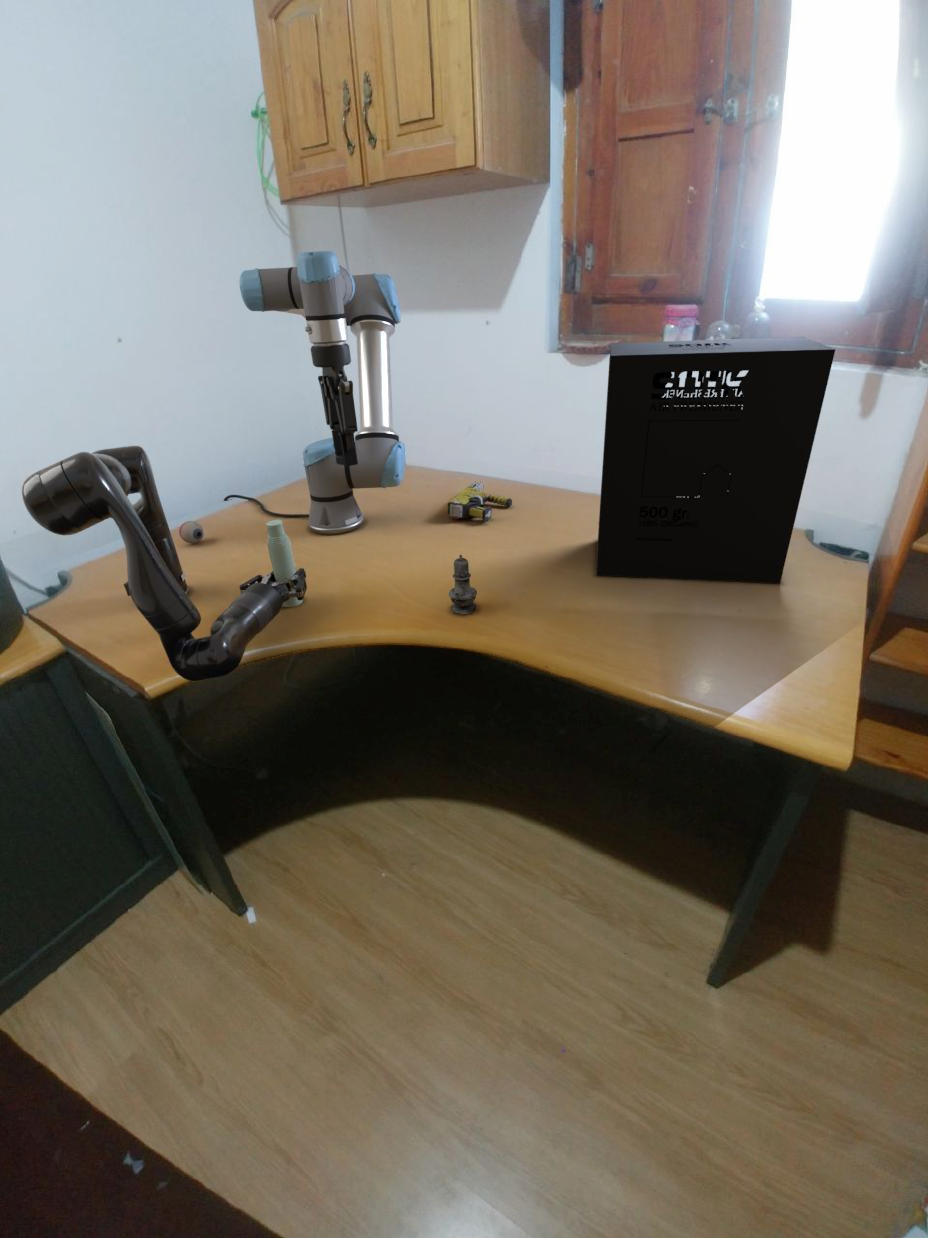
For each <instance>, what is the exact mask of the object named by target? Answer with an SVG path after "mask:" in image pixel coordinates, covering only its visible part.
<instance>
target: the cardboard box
mask: <svg viewBox="0 0 928 1238" xmlns="http://www.w3.org/2000/svg"><path fill="white" fill-rule="evenodd" d="M835 354H836V349H835V348H833V347H830V346H829V345H826V344H823V343H821V342H818V341H815V340H813V339H811V338H808V337H805V336H793V337H791V336H790V337H762V338H761V337H757V338H729V339H727V338H726V339H700V340H699V339H698V340H696V339H695V340H671V341H670V340H669V341H668V340H667V341H665V340H664V341H639V342H638V341H637V342H611V343H610V346H609V357H608V358H609V361H608V376H607V388H606V389H607V390H606V395H607V396H606V404H605V405H606V407H605V408H606V409H605V421H604V436H603V437H604V438H603V452H602V453H603V454H602V466H601V467H602V469H601V470H602V472H601V483H600V484H601V485H600V499H599V501H600V502H599V515H598V531H597V532H598V533H597V546H596V547H597V548H596V549H597V551H596V572H595V575H596V576H598V577H599V576H601V577H620V578H621V577H623V578H624V577H625V578H644V579H645V578H647V579H671V580H691V581H693V580H694V581H713V582H714V581H717V582H738V583H739V582H740V583H741V582H742V583H760V584H762V583H763V584H781V582H782V577H783V573H784V569H785V565H786V560H787V557H788V551H789V547H790V543H791V539H792V535H793V530H794V526H795V522H796V519H797V513H798V511H799V510H798V509H799V505H800V501H801V497H802V492H803V488H804V484H805V481H806V477H807V471H808V469H809V463H810V459H811V454H812V451H813V447H814V443H815V438H816V434H817V430H818V425H819V421H820V416H821V413H822V408H823V404H824V400H825V395H826V391H827V387H828V384H829V383H828V382H829V378H830V374H831V370H832V365H833V361H834V357H835ZM746 371H747V372H746ZM685 372H686V375H685V376H686V377H685V379H684V386H680V382H681V377H680V375H681V374H683V373H685ZM693 372H698V374H697V377H696V376H693ZM708 372H709V376H707V374H708ZM741 372H746V373H745V375H744V376H739V374H740V373H741ZM729 374H730V377H729V382H738V385H733V386H732V385H728V383H727V380H728V376H729ZM709 382H710V383H715V384H714V386H709ZM696 383H699V385H698V386H696ZM667 384H672V386H667Z"/></svg>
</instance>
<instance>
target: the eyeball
mask: <svg viewBox="0 0 928 1238" xmlns="http://www.w3.org/2000/svg"><path fill="white" fill-rule="evenodd" d="M178 533H179V537H180V539H181V540H183V541H184V542H185V543H188V544H192V545H193V544H197V543H200V542H201V541H202V539H203V538H204V536H205V535H204V534H205V532H204V528H203V526H202V525H201V524H200V523H198V522H196V521H194V520H188V521H185V522H184V523H182V524H181V525H180V526H179V529H178Z"/></svg>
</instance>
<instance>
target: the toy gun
mask: <svg viewBox="0 0 928 1238" xmlns="http://www.w3.org/2000/svg"><path fill="white" fill-rule="evenodd" d="M487 502H488V503H493V504H496V505H500V506H504V507H506V508H510V507H511V506H512V505H513V499H512V498H509V497H504V496H500V495H499V496H498V495H494V494H492V493H490V494H489V495H488V496H487V495H486V492H485V483H484V482H483V481H480V482H479V481H477V480H474V482H473V483H471V484H470V485H468V486H467V487H465V488H464V489H462V491H460V492H459V493H458V494H456V496H454V497H453V498H452V499H451V500H449V501H448V502H447V505H446V514H447V516H448V517H451V518H452V519H455V520H458V519H459V518H460V519H467V518H471V517H475V518H479V519H482V522H484V523H485V522H487V521H488V520H491V518H492V512H493V507H492V506H485V505H484V504H486V503H487Z"/></svg>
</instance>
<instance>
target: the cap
mask: <svg viewBox="0 0 928 1238" xmlns="http://www.w3.org/2000/svg"><path fill="white" fill-rule="evenodd" d="M335 455H336V463H337V464H339V465H344V458H343V451H342V452H338V453H336V454H335Z"/></svg>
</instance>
